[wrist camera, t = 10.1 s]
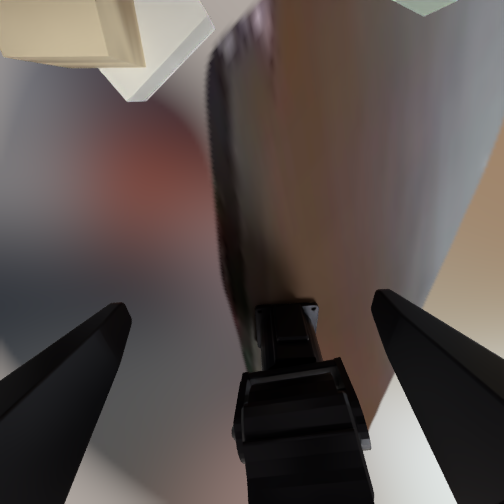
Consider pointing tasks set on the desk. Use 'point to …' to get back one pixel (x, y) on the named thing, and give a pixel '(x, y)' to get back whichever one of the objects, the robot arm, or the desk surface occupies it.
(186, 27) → the white brick
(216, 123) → the desk surface
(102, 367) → the robot arm
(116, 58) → the birch brick
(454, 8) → the desk surface
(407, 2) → the sage brick
